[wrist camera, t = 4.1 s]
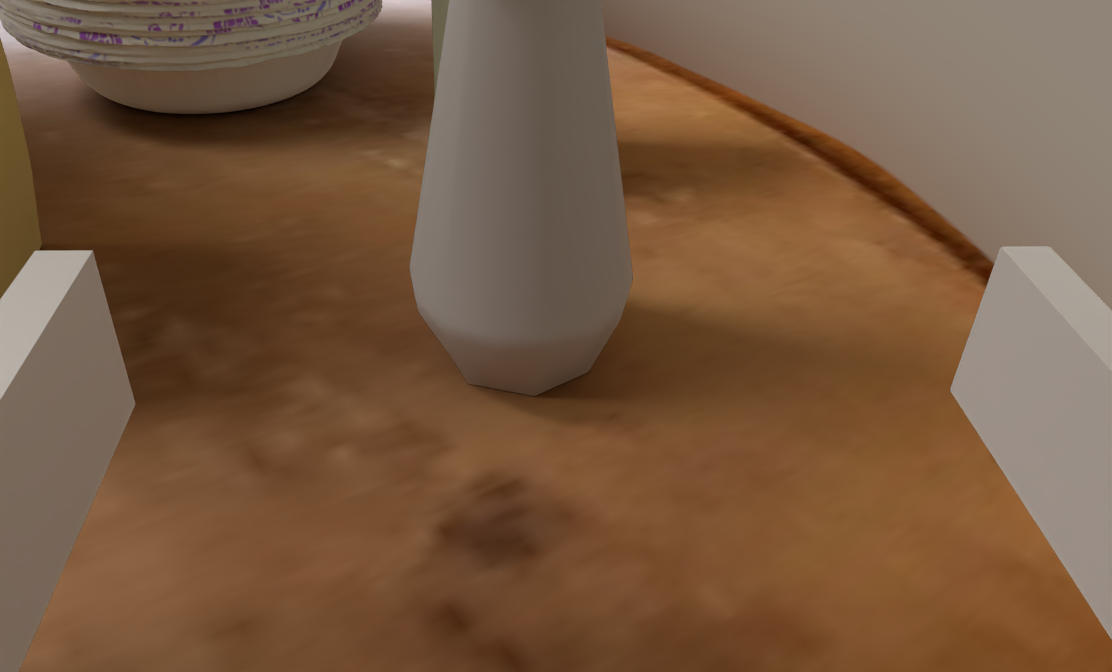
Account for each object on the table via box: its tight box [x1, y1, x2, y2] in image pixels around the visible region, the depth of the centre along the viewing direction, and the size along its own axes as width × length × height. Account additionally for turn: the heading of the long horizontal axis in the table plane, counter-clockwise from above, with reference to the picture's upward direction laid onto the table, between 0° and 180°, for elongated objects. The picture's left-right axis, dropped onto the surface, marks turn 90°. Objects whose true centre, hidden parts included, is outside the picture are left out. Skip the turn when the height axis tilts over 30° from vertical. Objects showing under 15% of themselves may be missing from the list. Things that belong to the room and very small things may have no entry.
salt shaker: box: [409, 0, 633, 396], centre depth 23 cm, size 6×6×13 cm
